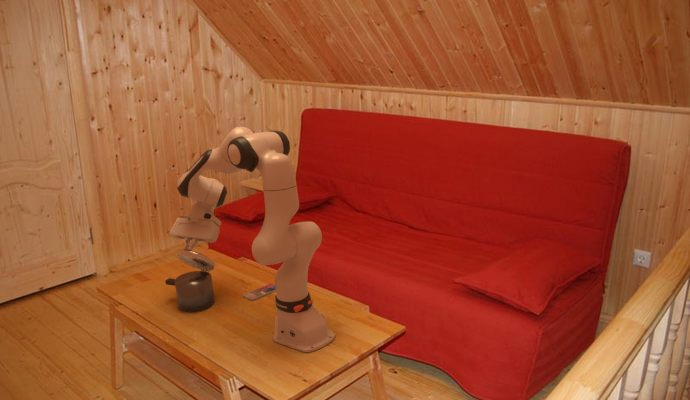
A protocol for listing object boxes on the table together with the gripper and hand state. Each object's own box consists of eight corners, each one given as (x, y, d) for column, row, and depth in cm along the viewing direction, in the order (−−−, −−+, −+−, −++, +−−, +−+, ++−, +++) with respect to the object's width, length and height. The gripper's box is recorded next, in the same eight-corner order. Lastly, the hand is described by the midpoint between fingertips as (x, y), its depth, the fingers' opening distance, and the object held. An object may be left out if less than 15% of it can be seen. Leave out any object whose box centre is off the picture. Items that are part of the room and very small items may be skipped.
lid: (190, 268, 228) (192, 263, 230) (220, 273, 223) (223, 267, 224) (170, 250, 216) (172, 244, 217) (202, 254, 210) (204, 248, 212)
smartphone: (241, 295, 226) (271, 282, 236) (241, 297, 226) (271, 284, 236) (251, 300, 221) (281, 287, 230) (251, 302, 221) (282, 289, 231)
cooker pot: (181, 291, 233) (177, 267, 229) (221, 298, 225) (218, 273, 222) (158, 307, 220) (154, 281, 217) (200, 314, 213) (196, 288, 210)
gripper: (173, 211, 221) (161, 243, 215) (217, 216, 213) (204, 249, 207) (182, 218, 226) (170, 250, 220) (225, 223, 218) (213, 256, 213)
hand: (187, 250), depth 214 cm, fingers closed, pressing on lid
